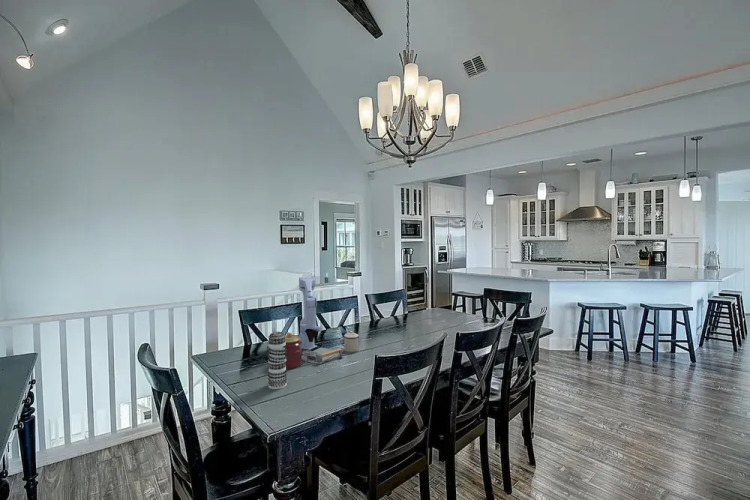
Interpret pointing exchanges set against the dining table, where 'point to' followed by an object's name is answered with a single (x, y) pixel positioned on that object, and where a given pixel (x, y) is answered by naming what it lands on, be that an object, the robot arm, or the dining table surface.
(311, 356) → the base plate
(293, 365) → the canister
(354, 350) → the teacup with lid
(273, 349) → the decorative candle
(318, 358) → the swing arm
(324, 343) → the dining table surface
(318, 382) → the dining table surface
